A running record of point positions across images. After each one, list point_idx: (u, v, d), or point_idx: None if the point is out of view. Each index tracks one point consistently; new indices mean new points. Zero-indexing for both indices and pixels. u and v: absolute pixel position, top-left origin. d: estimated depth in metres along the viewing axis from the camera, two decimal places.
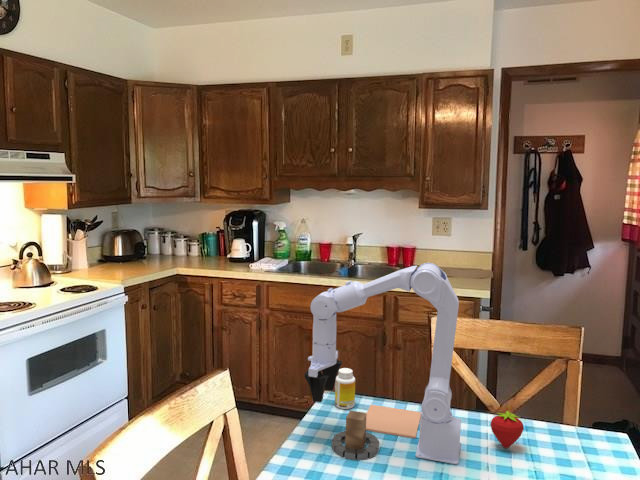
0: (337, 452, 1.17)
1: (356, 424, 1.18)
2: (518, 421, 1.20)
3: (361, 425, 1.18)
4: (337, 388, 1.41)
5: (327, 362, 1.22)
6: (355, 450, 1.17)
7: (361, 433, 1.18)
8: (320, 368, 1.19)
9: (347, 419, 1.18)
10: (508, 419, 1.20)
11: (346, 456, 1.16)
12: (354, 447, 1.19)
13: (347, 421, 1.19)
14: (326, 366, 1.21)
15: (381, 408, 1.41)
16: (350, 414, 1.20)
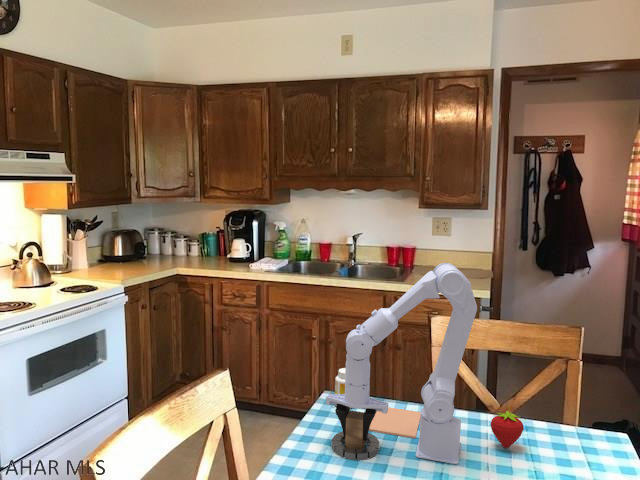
0: (337, 452, 1.17)
1: (356, 424, 1.18)
2: (518, 421, 1.20)
3: (361, 425, 1.18)
4: (337, 388, 1.41)
5: (345, 400, 1.18)
6: (355, 450, 1.17)
7: (361, 433, 1.18)
8: (332, 399, 1.20)
9: (347, 419, 1.18)
10: (508, 419, 1.20)
11: (346, 456, 1.16)
12: (354, 447, 1.19)
13: (347, 421, 1.19)
14: (340, 402, 1.19)
15: None
16: (350, 414, 1.20)
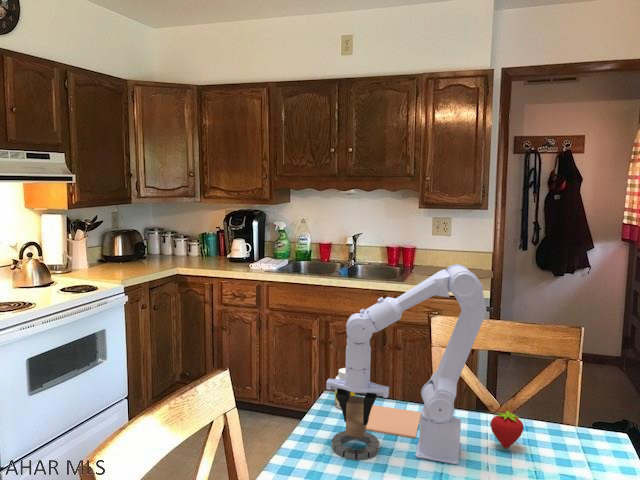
0: (337, 452, 1.17)
1: (357, 408, 1.17)
2: (518, 421, 1.20)
3: (362, 409, 1.17)
4: None
5: (345, 384, 1.18)
6: (355, 450, 1.17)
7: (362, 417, 1.17)
8: (333, 384, 1.19)
9: (348, 404, 1.18)
10: (508, 419, 1.20)
11: (346, 456, 1.16)
12: (355, 432, 1.18)
13: (348, 406, 1.18)
14: (340, 386, 1.18)
15: (381, 408, 1.41)
16: (350, 399, 1.20)
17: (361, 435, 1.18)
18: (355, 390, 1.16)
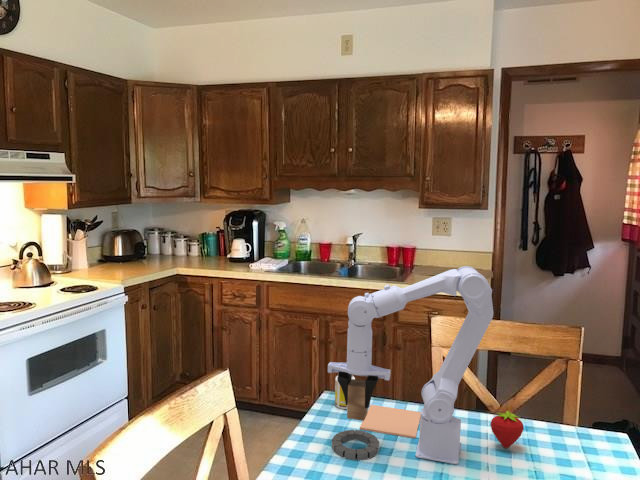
0: (337, 452, 1.17)
1: (358, 391, 1.17)
2: (518, 421, 1.20)
3: (363, 392, 1.17)
4: (337, 388, 1.41)
5: (347, 367, 1.18)
6: (355, 450, 1.17)
7: (363, 400, 1.17)
8: (334, 367, 1.19)
9: (349, 387, 1.18)
10: (508, 419, 1.20)
11: (346, 456, 1.16)
12: (356, 415, 1.18)
13: (349, 389, 1.18)
14: (342, 369, 1.18)
15: (381, 408, 1.41)
16: (352, 382, 1.19)
17: (362, 418, 1.18)
18: (357, 373, 1.16)
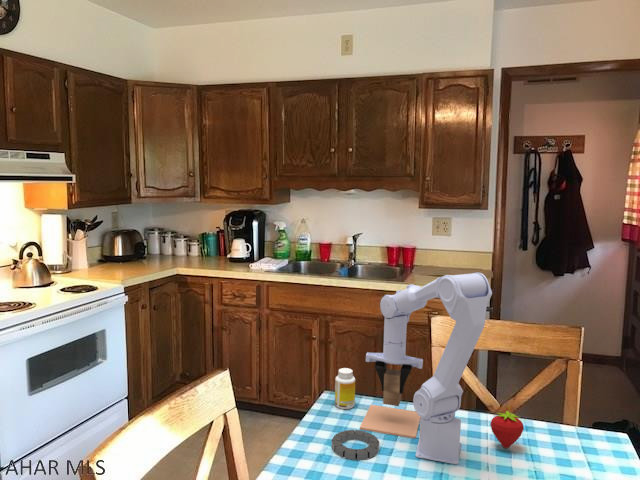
0: (337, 452, 1.17)
1: (394, 379, 1.30)
2: (518, 421, 1.20)
3: (398, 381, 1.30)
4: (337, 388, 1.41)
5: (384, 357, 1.31)
6: (355, 450, 1.17)
7: (398, 388, 1.30)
8: (372, 356, 1.33)
9: (385, 375, 1.31)
10: (508, 419, 1.20)
11: (346, 456, 1.16)
12: (391, 401, 1.31)
13: (385, 377, 1.31)
14: (379, 359, 1.31)
15: (381, 408, 1.41)
16: (387, 372, 1.32)
17: (397, 404, 1.31)
18: (393, 361, 1.29)
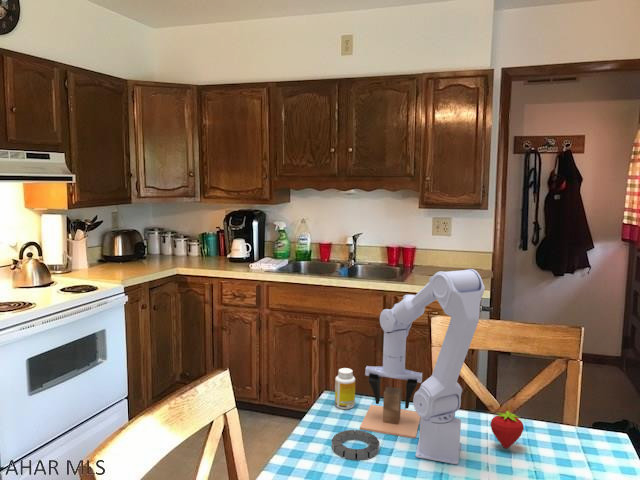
0: (337, 452, 1.17)
1: (393, 398, 1.31)
2: (518, 421, 1.20)
3: (398, 399, 1.31)
4: (337, 388, 1.41)
5: (383, 371, 1.32)
6: (355, 450, 1.17)
7: (397, 406, 1.31)
8: (371, 370, 1.33)
9: (385, 394, 1.32)
10: (508, 419, 1.20)
11: (346, 456, 1.16)
12: (391, 419, 1.32)
13: (385, 396, 1.32)
14: (379, 373, 1.32)
15: (381, 408, 1.41)
16: (387, 390, 1.33)
17: (397, 422, 1.31)
18: (392, 376, 1.30)
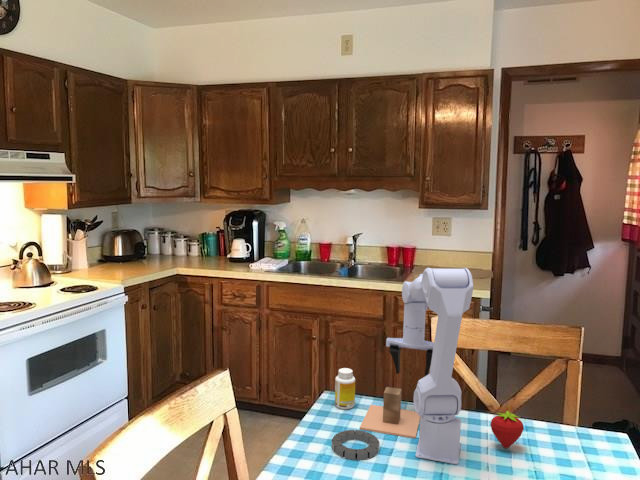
0: (337, 452, 1.17)
1: (393, 398, 1.31)
2: (518, 421, 1.20)
3: (398, 399, 1.31)
4: (337, 388, 1.41)
5: (404, 341, 1.37)
6: (355, 450, 1.17)
7: (397, 406, 1.31)
8: (392, 341, 1.39)
9: (385, 394, 1.32)
10: (508, 419, 1.20)
11: (346, 456, 1.16)
12: (391, 419, 1.32)
13: (385, 396, 1.32)
14: (399, 343, 1.37)
15: (381, 408, 1.41)
16: (387, 390, 1.33)
17: (397, 422, 1.31)
18: (413, 346, 1.35)
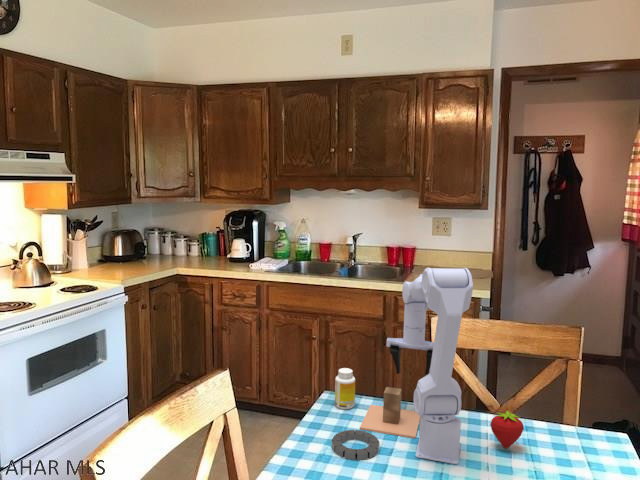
0: (337, 452, 1.17)
1: (393, 398, 1.31)
2: (518, 421, 1.20)
3: (398, 399, 1.31)
4: (337, 388, 1.41)
5: (404, 342, 1.37)
6: (355, 450, 1.17)
7: (397, 406, 1.31)
8: (393, 341, 1.39)
9: (385, 394, 1.32)
10: (508, 419, 1.20)
11: (346, 456, 1.16)
12: (391, 419, 1.32)
13: (385, 396, 1.32)
14: (400, 343, 1.38)
15: (381, 408, 1.41)
16: (387, 390, 1.33)
17: (397, 422, 1.31)
18: (413, 346, 1.35)
